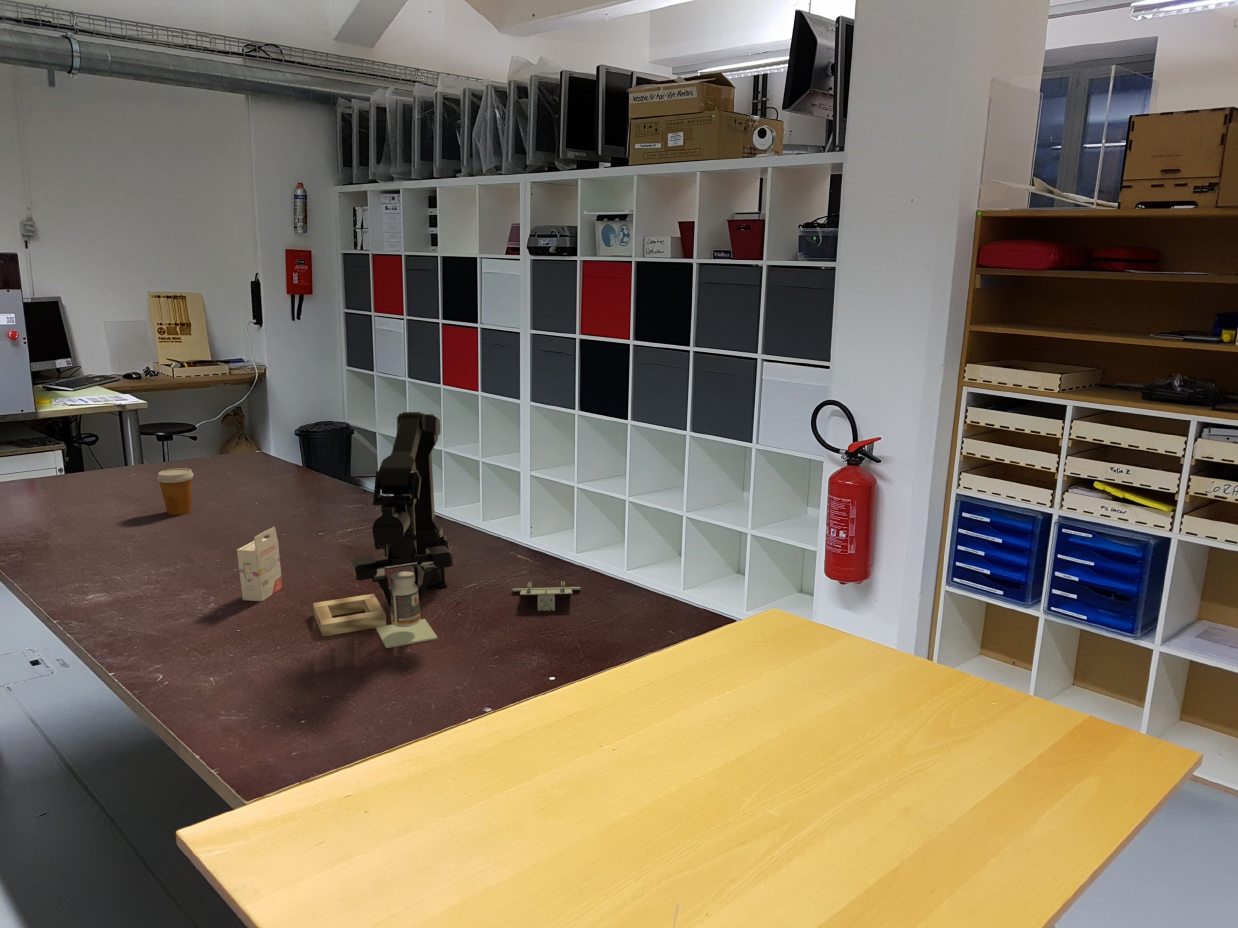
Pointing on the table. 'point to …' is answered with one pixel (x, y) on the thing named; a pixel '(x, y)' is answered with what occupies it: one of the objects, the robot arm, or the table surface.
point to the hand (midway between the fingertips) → (404, 603)
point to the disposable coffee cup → (176, 490)
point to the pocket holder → (352, 622)
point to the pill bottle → (404, 600)
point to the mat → (406, 634)
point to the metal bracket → (546, 595)
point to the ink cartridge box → (260, 567)
